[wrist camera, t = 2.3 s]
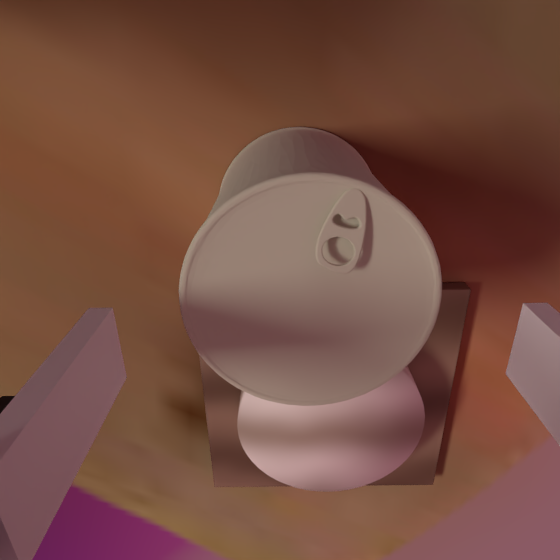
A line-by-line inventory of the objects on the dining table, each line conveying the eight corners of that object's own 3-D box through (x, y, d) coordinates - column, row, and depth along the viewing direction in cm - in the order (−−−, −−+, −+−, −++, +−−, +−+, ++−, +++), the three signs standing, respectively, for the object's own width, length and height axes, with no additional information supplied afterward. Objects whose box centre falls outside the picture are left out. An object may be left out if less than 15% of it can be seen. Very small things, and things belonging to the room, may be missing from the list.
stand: (194, 286, 28) (183, 313, 24) (464, 282, 28) (488, 309, 24) (216, 476, 35) (209, 516, 32) (429, 473, 35) (444, 514, 32)
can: (403, 156, 24) (502, 227, 13) (343, 297, 28) (382, 440, 17) (242, 102, 23) (209, 132, 12) (202, 257, 27) (150, 383, 16)
